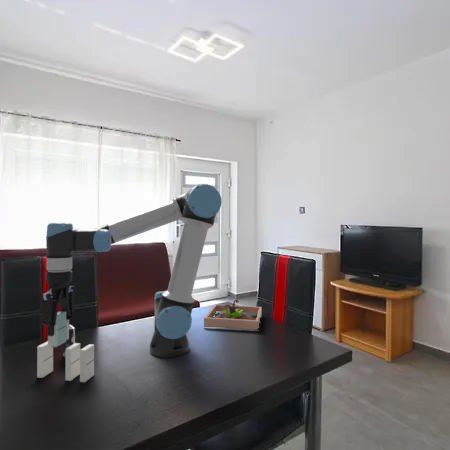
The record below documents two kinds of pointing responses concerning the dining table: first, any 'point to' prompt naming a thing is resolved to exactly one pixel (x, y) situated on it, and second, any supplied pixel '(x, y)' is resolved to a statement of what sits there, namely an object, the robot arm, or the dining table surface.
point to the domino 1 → (61, 328)
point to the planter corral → (233, 322)
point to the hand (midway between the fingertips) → (58, 341)
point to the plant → (234, 313)
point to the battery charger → (70, 338)
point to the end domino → (44, 360)
